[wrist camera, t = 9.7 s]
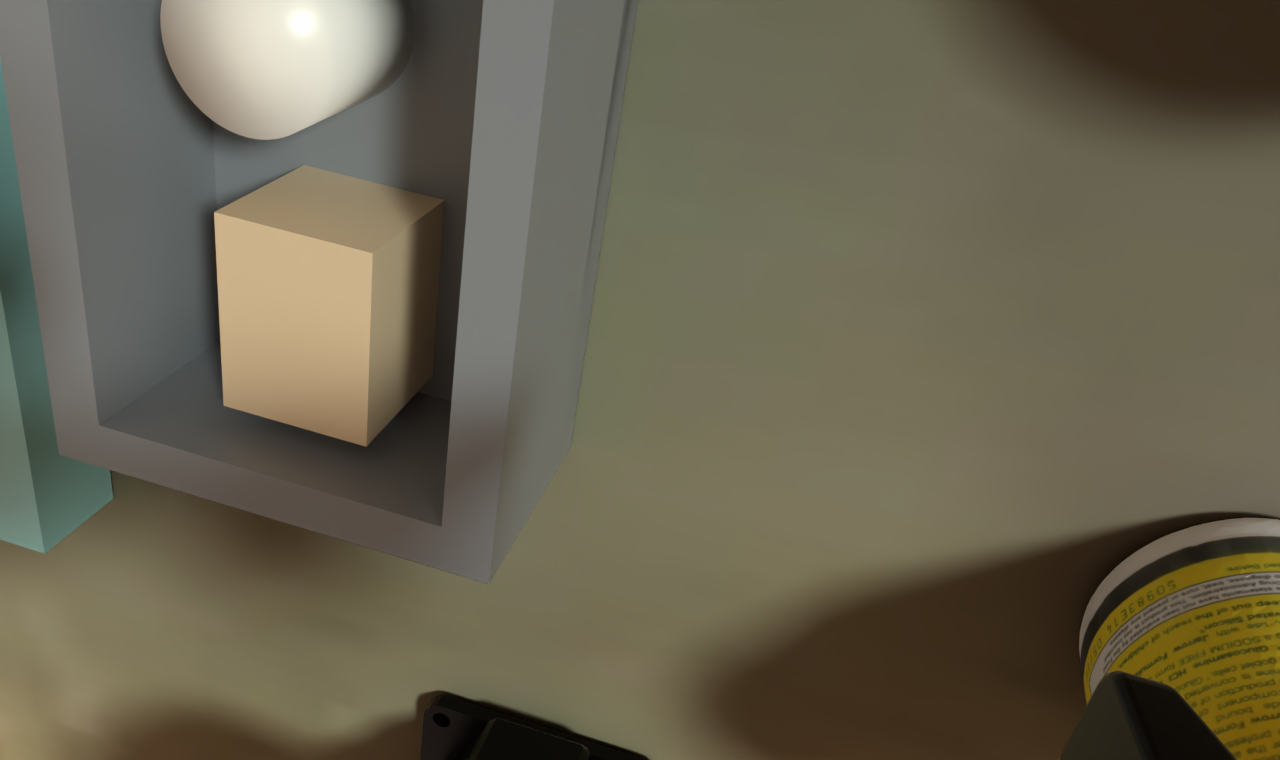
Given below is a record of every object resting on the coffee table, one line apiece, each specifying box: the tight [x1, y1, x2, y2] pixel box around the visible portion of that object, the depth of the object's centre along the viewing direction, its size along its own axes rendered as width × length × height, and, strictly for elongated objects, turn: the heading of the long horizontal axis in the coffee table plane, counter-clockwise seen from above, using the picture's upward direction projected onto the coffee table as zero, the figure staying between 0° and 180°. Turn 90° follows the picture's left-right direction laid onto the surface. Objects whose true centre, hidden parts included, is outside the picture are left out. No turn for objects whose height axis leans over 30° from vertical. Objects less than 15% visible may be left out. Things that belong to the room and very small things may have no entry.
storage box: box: [0, 0, 638, 584], centre depth 19 cm, size 12×9×5 cm
